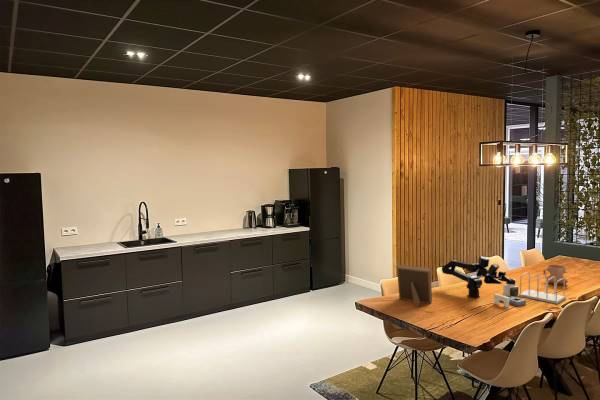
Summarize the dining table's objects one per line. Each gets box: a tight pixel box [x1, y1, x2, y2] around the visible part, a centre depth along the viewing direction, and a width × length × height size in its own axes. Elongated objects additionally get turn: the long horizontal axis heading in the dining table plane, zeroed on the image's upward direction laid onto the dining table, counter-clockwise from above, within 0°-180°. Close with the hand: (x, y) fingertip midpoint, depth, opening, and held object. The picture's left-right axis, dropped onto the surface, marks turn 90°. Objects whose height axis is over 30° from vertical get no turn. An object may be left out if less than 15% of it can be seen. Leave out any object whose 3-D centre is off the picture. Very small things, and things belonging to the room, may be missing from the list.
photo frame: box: [396, 264, 433, 308], centre depth 303 cm, size 15×22×25 cm
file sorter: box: [518, 271, 567, 304], centre depth 312 cm, size 25×17×16 cm
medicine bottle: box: [502, 277, 519, 298], centre depth 318 cm, size 7×7×12 cm
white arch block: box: [493, 293, 510, 308], centre depth 297 cm, size 10×3×6 cm, turn 30°
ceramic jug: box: [542, 264, 570, 286], centre depth 346 cm, size 18×14×14 cm
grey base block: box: [500, 295, 527, 307], centre depth 302 cm, size 15×8×3 cm, turn 30°
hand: (505, 282), depth 293 cm, fingers open, 9 cm apart
